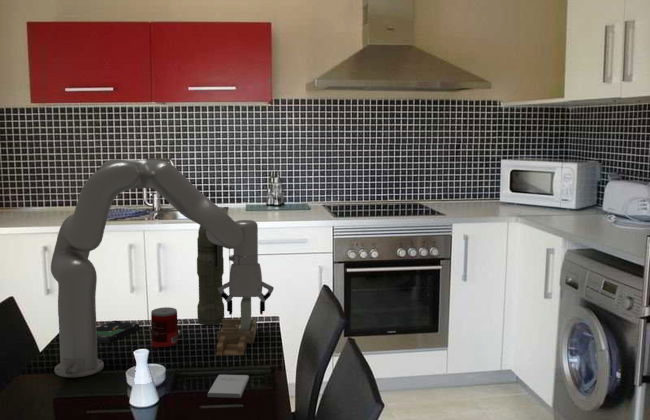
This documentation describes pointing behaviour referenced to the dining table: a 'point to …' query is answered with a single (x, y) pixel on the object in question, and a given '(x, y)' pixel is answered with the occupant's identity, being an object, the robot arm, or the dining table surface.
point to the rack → (238, 331)
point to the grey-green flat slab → (246, 314)
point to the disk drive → (115, 331)
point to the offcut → (229, 327)
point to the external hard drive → (228, 386)
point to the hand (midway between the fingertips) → (246, 313)
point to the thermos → (209, 280)
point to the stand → (231, 347)
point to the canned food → (164, 327)
